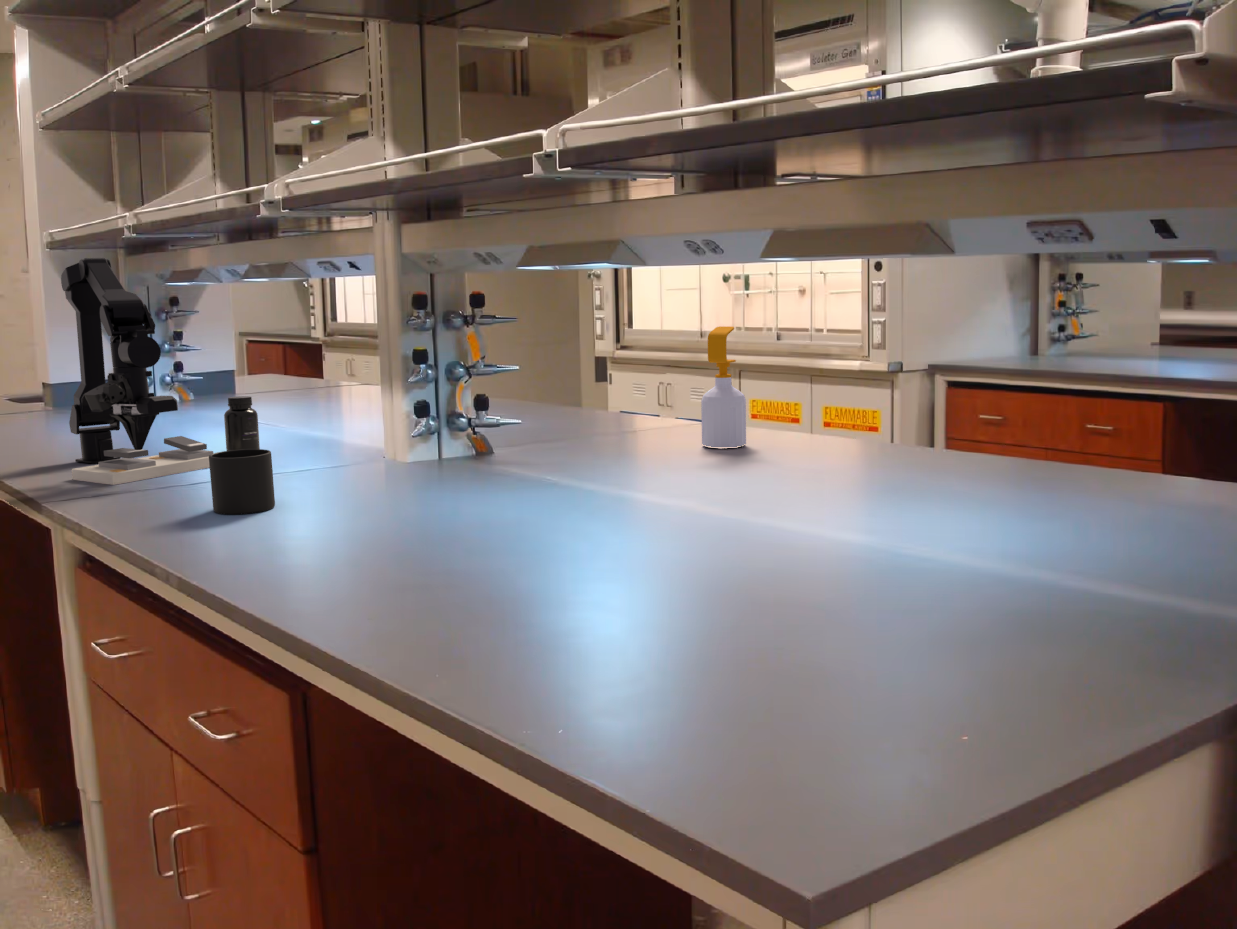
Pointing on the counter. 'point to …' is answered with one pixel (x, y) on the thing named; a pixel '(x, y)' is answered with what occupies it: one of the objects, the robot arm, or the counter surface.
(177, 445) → the rocker
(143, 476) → the switch panel
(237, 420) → the supplement bottle
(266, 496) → the mug
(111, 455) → the rocker
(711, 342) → the soap bottle
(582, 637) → the counter surface
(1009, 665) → the counter surface
